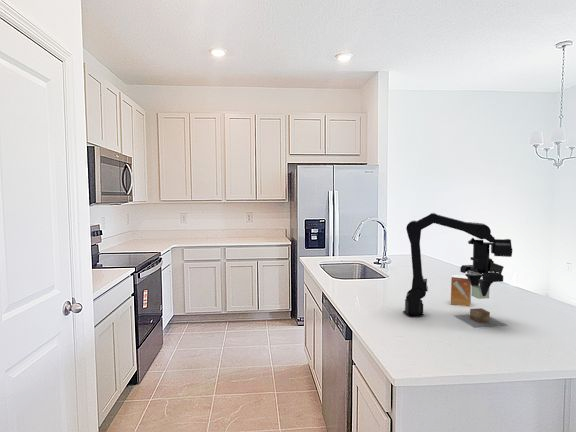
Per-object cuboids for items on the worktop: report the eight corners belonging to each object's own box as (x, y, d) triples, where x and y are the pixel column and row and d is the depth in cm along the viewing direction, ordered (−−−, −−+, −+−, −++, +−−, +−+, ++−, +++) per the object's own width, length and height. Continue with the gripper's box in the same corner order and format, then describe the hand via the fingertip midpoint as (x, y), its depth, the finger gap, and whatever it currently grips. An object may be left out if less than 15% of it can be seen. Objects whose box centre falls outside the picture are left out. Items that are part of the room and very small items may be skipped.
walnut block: (477, 322, 145) (478, 312, 145) (469, 318, 150) (470, 308, 150) (489, 322, 146) (489, 312, 145) (481, 317, 150) (481, 308, 150)
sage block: (478, 298, 144) (478, 288, 144) (471, 295, 149) (471, 285, 149) (489, 298, 145) (489, 288, 145) (481, 295, 149) (482, 285, 149)
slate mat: (474, 328, 140) (474, 327, 140) (453, 316, 154) (453, 315, 154) (508, 326, 142) (508, 325, 142) (484, 314, 156) (484, 313, 156)
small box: (450, 304, 170) (451, 276, 169) (452, 301, 175) (452, 274, 174) (470, 307, 166) (470, 278, 165) (471, 303, 171) (471, 275, 170)
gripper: (517, 259, 137) (516, 300, 138) (484, 251, 156) (483, 287, 157) (489, 260, 136) (488, 301, 137) (459, 251, 155) (459, 288, 156)
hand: (480, 294), depth 147 cm, fingers closed on sage block, 4 cm apart
